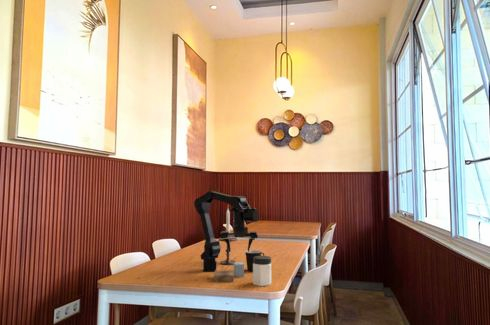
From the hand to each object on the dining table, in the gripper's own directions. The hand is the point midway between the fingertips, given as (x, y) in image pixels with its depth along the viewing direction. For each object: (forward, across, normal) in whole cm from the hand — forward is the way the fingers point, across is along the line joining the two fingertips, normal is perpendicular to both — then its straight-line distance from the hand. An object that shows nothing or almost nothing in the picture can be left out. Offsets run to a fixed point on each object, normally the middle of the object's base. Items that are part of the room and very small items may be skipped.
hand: (239, 251), depth 180 cm
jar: (+12, +11, -16) cm, 23 cm away
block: (+12, 0, 0) cm, 12 cm away
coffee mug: (+12, +9, +11) cm, 18 cm away
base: (+12, -7, -8) cm, 16 cm away
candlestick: (+12, -7, +29) cm, 32 cm away
